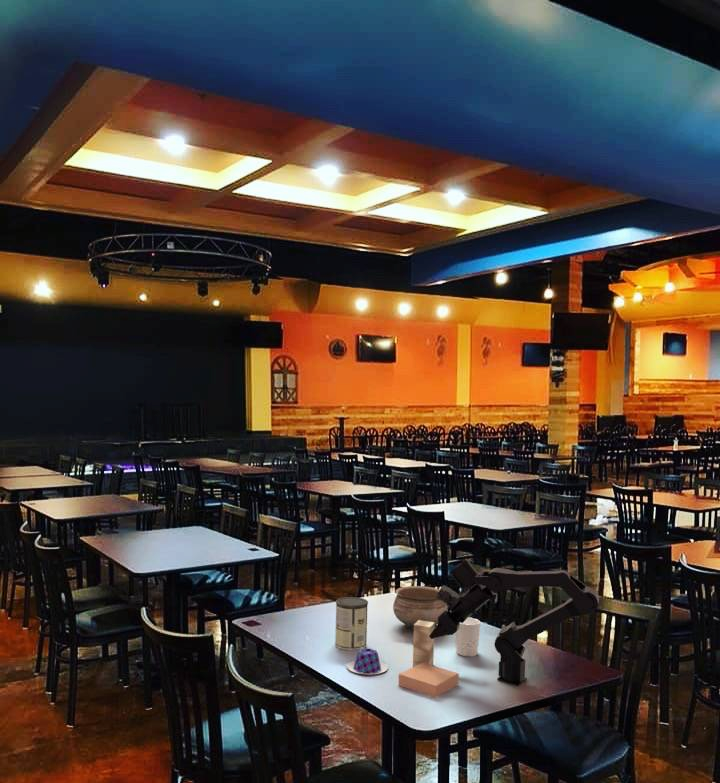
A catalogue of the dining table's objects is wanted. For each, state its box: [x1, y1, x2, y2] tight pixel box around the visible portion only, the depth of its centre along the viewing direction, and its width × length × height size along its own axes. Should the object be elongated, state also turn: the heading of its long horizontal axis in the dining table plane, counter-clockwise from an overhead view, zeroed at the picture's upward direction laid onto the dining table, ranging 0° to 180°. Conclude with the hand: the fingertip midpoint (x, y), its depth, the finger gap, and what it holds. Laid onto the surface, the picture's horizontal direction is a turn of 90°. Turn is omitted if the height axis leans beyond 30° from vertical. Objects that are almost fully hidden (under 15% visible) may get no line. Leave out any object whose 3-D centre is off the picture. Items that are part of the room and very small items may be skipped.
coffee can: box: [334, 596, 369, 652], centre depth 225 cm, size 10×10×14 cm
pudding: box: [346, 647, 389, 676], centre depth 206 cm, size 12×12×5 cm
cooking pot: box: [392, 585, 448, 630], centre depth 246 cm, size 25×19×12 cm
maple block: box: [412, 620, 435, 667], centre depth 209 cm, size 5×5×12 cm
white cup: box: [454, 617, 481, 657], centre depth 221 cm, size 8×8×10 cm
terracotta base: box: [398, 663, 460, 698], centre depth 195 cm, size 12×12×3 cm
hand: (434, 632), depth 208 cm, fingers open, 9 cm apart
